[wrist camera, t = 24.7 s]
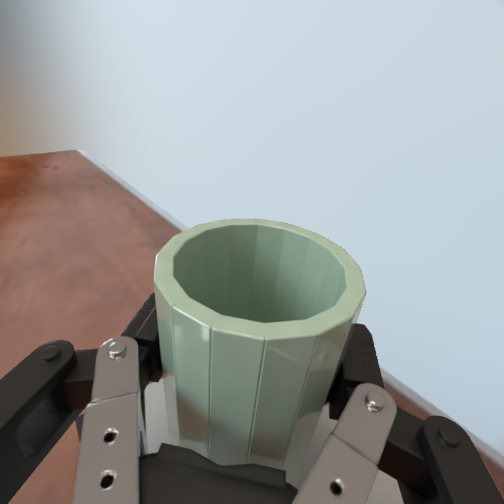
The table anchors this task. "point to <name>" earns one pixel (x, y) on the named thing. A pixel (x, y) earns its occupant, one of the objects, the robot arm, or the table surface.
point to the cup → (253, 338)
